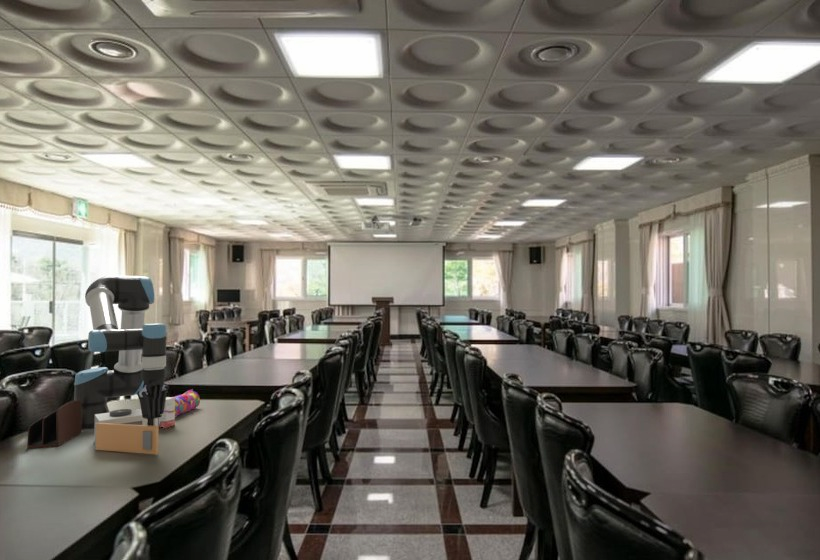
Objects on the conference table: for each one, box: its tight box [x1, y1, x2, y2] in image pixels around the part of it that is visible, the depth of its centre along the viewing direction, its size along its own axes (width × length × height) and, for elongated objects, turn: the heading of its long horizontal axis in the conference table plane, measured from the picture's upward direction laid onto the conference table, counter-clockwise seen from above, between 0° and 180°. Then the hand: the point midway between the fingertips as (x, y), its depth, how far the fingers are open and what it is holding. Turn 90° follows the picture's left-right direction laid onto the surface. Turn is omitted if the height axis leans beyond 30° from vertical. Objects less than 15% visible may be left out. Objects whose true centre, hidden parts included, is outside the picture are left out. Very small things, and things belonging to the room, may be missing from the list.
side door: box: [94, 423, 160, 455], centre depth 168 cm, size 2×25×9 cm, turn 77°
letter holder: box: [26, 399, 83, 450], centre depth 185 cm, size 10×20×14 cm, turn 13°
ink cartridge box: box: [158, 396, 176, 429], centre depth 204 cm, size 9×5×15 cm, turn 68°
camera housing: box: [93, 408, 147, 443], centre depth 182 cm, size 13×15×11 cm
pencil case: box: [171, 388, 201, 418], centre depth 229 cm, size 22×9×9 cm, turn 1°
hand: (152, 437), depth 170 cm, fingers closed
